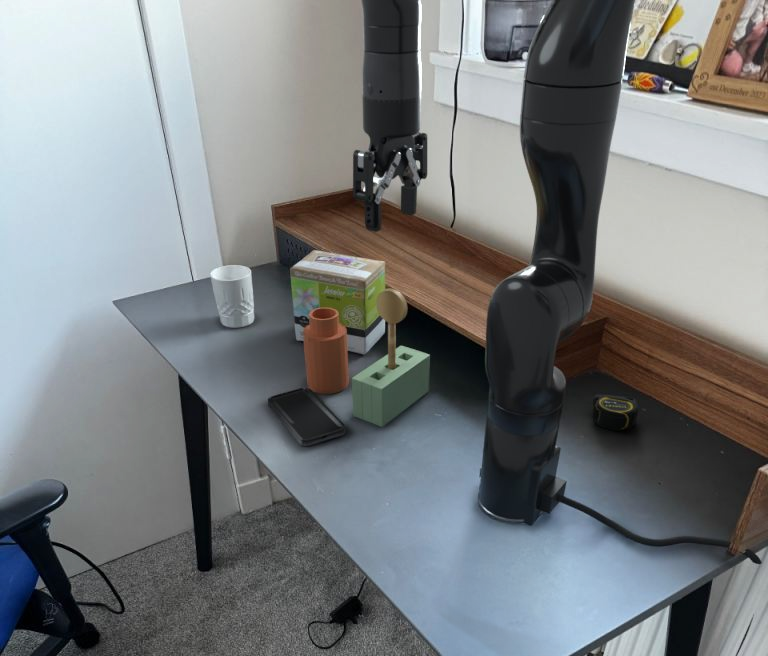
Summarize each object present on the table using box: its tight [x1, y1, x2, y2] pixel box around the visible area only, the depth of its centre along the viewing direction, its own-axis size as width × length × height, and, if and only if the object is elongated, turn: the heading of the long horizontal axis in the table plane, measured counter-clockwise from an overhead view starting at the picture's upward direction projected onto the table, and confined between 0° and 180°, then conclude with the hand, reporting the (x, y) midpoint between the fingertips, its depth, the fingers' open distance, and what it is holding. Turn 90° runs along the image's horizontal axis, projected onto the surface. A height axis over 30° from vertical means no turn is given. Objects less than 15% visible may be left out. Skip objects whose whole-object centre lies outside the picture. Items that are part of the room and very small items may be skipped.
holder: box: [351, 345, 431, 428], centre depth 119 cm, size 6×14×7 cm, turn 144°
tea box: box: [289, 249, 386, 356], centre depth 135 cm, size 15×10×15 cm, turn 67°
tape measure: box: [592, 393, 639, 431], centre depth 115 cm, size 7×7×4 cm
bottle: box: [303, 307, 350, 395], centre depth 122 cm, size 7×7×13 cm
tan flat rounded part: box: [376, 287, 408, 370], centre depth 115 cm, size 5×1×20 cm, turn 54°
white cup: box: [209, 264, 255, 329], centre depth 143 cm, size 8×8×10 cm
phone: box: [267, 386, 346, 447], centre depth 117 cm, size 8×1×15 cm
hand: (391, 221), depth 102 cm, fingers open, 8 cm apart
